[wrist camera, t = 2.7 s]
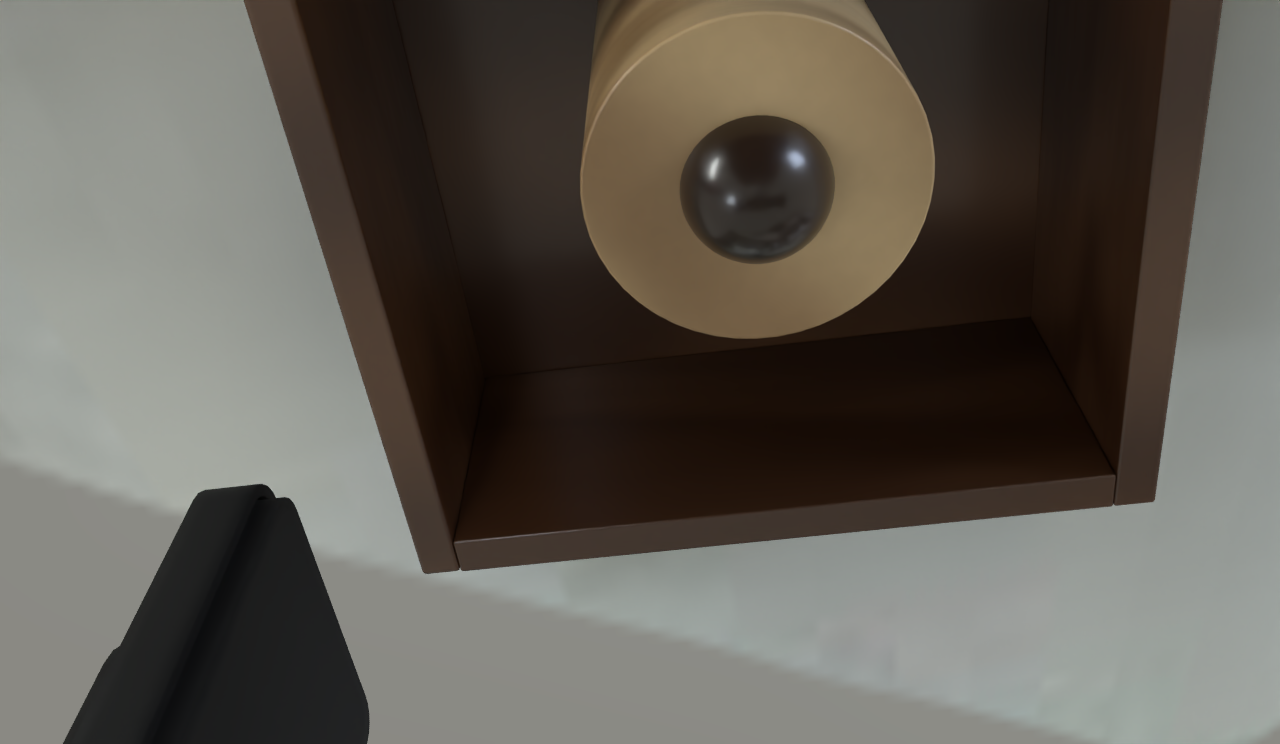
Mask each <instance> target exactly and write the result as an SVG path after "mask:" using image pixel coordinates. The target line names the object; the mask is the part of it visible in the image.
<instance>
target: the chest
mask: <svg viewBox="0 0 1280 744" xmlns="http://www.w3.org/2000/svg"><path fill="white" fill-rule="evenodd" d="M864 1H865V2H866V4H867V6H868V8H869V10H870V11H871V13H872V15H873V17H874V18H875V20H876V22H877V24H878V26H879V27H880V29H881V31H882V33H883V34H884V36H885V38H886V40H887V42H888V43H889V45H890V47H891V49H892V51H893V52H894V54H895V56H896V58H897V59H898V61H899V63H900V65H901V67H902V68H903V70H904V72H905V74H906V75H907V77H908V79H909V81H910V83H911V84H912V86H913V88H914V90H915V91H916V93H917V95H918V97H919V100H920V102H921V104H922V106H923V109H924V111H925V113H926V115H927V119H928V123H929V126H930V130H931V133H932V138H933V146H934V154H935V179H934V185H933V192H932V198H931V202H930V206H929V209H928V212H927V215H926V219H925V222H924V224H923V226H922V228H921V230H920V233H919V235H918V237H917V239H916V241H915V243H914V245H913V246H912V248H911V249H910V251H909V253H908V254H907V256H906V257H905V259H904V260H903V262H902V263H901V264H900V265H899V267H898V268H897V269H896V270H895V272H894V273H893V274H892V275H891V277H890V278H889V279H887V280H886V281H885V282H884V283H883V284H882V285H881V286H880V287H879V288H878V289H877V290H876V291H875V292H874V293H873V294H871V295H870V296H869V297H867V298H866V299H865V300H864V301H862V302H861V303H860V304H858V305H857V306H855V307H854V308H852V309H850V310H849V311H847V312H845V313H844V314H842V315H840V316H838V317H836V318H834V319H832V320H830V321H828V322H825V323H823V324H821V325H819V326H816V327H813V328H810V329H807V330H804V331H801V332H797V333H792V334H787V335H783V336H778V337H768V338H758V339H741V338H728V337H720V336H713V335H709V334H705V333H701V332H697V331H693V330H690V329H688V328H685V327H682V326H679V325H677V324H674V323H672V322H670V321H668V320H666V319H665V318H663V317H661V316H659V315H657V314H655V313H654V312H652V311H651V310H649V309H648V308H646V307H645V306H643V305H642V304H641V303H639V302H638V301H637V300H636V299H635V298H633V297H632V296H631V295H630V294H629V293H628V292H627V291H626V290H624V289H623V288H622V286H621V285H620V284H619V283H618V282H617V281H616V279H615V278H614V277H613V276H612V275H611V274H610V272H609V271H608V269H607V268H606V266H605V265H604V263H603V262H602V260H601V259H600V257H599V255H598V253H597V251H596V249H595V247H594V245H593V243H592V241H591V238H590V236H589V233H588V229H587V226H586V223H585V220H584V216H583V210H582V203H581V197H580V171H581V161H582V151H583V142H584V132H585V122H586V113H587V103H588V93H589V84H590V74H591V64H592V55H593V45H594V36H595V26H596V16H597V7H598V0H244V3H245V6H246V9H247V13H248V16H249V19H250V22H251V25H252V28H253V32H254V35H255V38H256V41H257V44H258V48H259V51H260V54H261V57H262V60H263V64H264V67H265V70H266V73H267V76H268V79H269V83H270V86H271V89H272V92H273V95H274V99H275V102H276V105H277V108H278V111H279V115H280V118H281V121H282V124H283V127H284V131H285V134H286V137H287V140H288V143H289V146H290V150H291V153H292V156H293V159H294V162H295V166H296V169H297V172H298V175H299V178H300V182H301V185H302V188H303V191H304V194H305V198H306V201H307V204H308V207H309V210H310V213H311V217H312V220H313V223H314V226H315V229H316V233H317V236H318V239H319V242H320V245H321V249H322V252H323V255H324V258H325V261H326V264H327V268H328V271H329V274H330V277H331V280H332V284H333V287H334V290H335V293H336V296H337V300H338V303H339V306H340V309H341V312H342V316H343V319H344V322H345V325H346V328H347V331H348V335H349V338H350V341H351V344H352V347H353V351H354V354H355V357H356V360H357V363H358V367H359V370H360V373H361V376H362V379H363V382H364V386H365V389H366V392H367V395H368V398H369V402H370V405H371V408H372V411H373V414H374V418H375V421H376V424H377V427H378V430H379V434H380V437H381V440H382V443H383V446H384V449H385V453H386V456H387V459H388V462H389V465H390V469H391V472H392V475H393V478H394V481H395V485H396V488H397V491H398V494H399V497H400V501H401V504H402V507H403V510H404V513H405V516H406V520H407V523H408V526H409V529H410V532H411V536H412V539H413V542H414V545H415V548H416V552H417V555H418V558H419V561H420V564H421V567H422V570H423V572H424V573H426V574H430V573H440V572H450V571H457V570H459V569H460V568H461V570H462V571H469V570H479V569H489V568H499V567H509V566H519V565H529V564H539V563H549V562H559V561H569V560H579V559H589V558H599V557H609V556H619V555H629V554H639V553H649V552H659V551H669V550H679V549H689V548H699V547H709V546H719V545H729V544H739V543H749V542H759V541H769V540H779V539H789V538H799V537H809V536H819V535H829V534H839V533H849V532H859V531H869V530H879V529H889V528H899V527H909V526H919V525H929V524H939V523H949V522H959V521H969V520H979V519H989V518H999V517H1009V516H1019V515H1029V514H1039V513H1049V512H1059V511H1069V510H1079V509H1089V508H1099V507H1109V506H1112V505H1113V504H1114V505H1116V506H1117V505H1127V504H1137V503H1147V502H1153V501H1154V500H1155V494H1156V487H1157V479H1158V472H1159V465H1160V457H1161V450H1162V443H1163V435H1164V428H1165V421H1166V413H1167V406H1168V399H1169V391H1170V384H1171V377H1172V369H1173V362H1174V355H1175V347H1176V340H1177V333H1178V325H1179V318H1180V311H1181V303H1182V296H1183V289H1184V281H1185V274H1186V267H1187V259H1188V252H1189V245H1190V237H1191V230H1192V223H1193V215H1194V208H1195V201H1196V193H1197V186H1198V179H1199V171H1200V164H1201V157H1202V149H1203V142H1204V135H1205V127H1206V120H1207V113H1208V105H1209V98H1210V91H1211V83H1212V76H1213V69H1214V61H1215V54H1216V47H1217V39H1218V32H1219V25H1220V17H1221V10H1222V3H1223V0H864Z"/></svg>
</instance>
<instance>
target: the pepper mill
mask: <svg viewBox="0 0 1280 744" xmlns="http://www.w3.org/2000/svg"><path fill="white" fill-rule="evenodd" d="M934 179H935V154H934V146H933V138H932V133H931V130H930V126H929V123H928V119H927V115H926V113H925V111H924V109H923V106H922V104H921V102H920V100H919V97H918V95H917V93H916V91H915V90H914V88H913V86H912V84H911V83H910V81H909V79H908V77H907V75H906V74H905V72H904V70H903V68H902V67H901V65H900V63H899V61H898V59H897V58H896V56H895V54H894V52H893V51H892V49H891V47H890V45H889V43H888V42H887V40H886V38H885V36H884V34H883V33H882V31H881V29H880V27H879V26H878V24H877V22H876V20H875V18H874V17H873V15H872V13H871V11H870V10H869V8H868V6H867V4H866V2H865V1H864V0H598V7H597V16H596V26H595V36H594V45H593V55H592V64H591V74H590V84H589V93H588V103H587V113H586V122H585V132H584V142H583V151H582V161H581V171H580V197H581V203H582V210H583V216H584V220H585V223H586V226H587V229H588V233H589V236H590V238H591V241H592V243H593V245H594V247H595V249H596V251H597V253H598V255H599V257H600V259H601V260H602V262H603V263H604V265H605V266H606V268H607V269H608V271H609V272H610V274H611V275H612V276H613V277H614V278H615V279H616V281H617V282H618V283H619V284H620V285H621V286H622V288H623V289H624V290H626V291H627V292H628V293H629V294H630V295H631V296H632V297H633V298H635V299H636V300H637V301H638V302H639V303H641V304H642V305H643V306H645V307H646V308H648V309H649V310H651V311H652V312H654V313H655V314H657V315H659V316H661V317H663V318H665V319H666V320H668V321H670V322H672V323H674V324H677V325H679V326H682V327H685V328H688V329H690V330H693V331H697V332H701V333H705V334H709V335H713V336H720V337H728V338H741V339H758V338H768V337H778V336H783V335H787V334H792V333H797V332H801V331H804V330H807V329H810V328H813V327H816V326H819V325H821V324H823V323H825V322H828V321H830V320H832V319H834V318H836V317H838V316H840V315H842V314H844V313H845V312H847V311H849V310H850V309H852V308H854V307H855V306H857V305H858V304H860V303H861V302H862V301H864V300H865V299H866V298H867V297H869V296H870V295H871V294H873V293H874V292H875V291H876V290H877V289H878V288H879V287H880V286H881V285H882V284H883V283H884V282H885V281H886V280H887V279H889V278H890V277H891V275H892V274H893V273H894V272H895V270H896V269H897V268H898V267H899V265H900V264H901V263H902V262H903V260H904V259H905V257H906V256H907V254H908V253H909V251H910V249H911V248H912V246H913V245H914V243H915V241H916V239H917V237H918V235H919V233H920V230H921V228H922V226H923V224H924V222H925V219H926V215H927V212H928V209H929V206H930V202H931V198H932V192H933V185H934Z"/></svg>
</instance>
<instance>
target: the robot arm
mask: <svg viewBox="0 0 1280 744" xmlns="http://www.w3.org/2000/svg"><path fill="white" fill-rule="evenodd" d="M368 734H369V709H368V703H367V700H366V696H365V693H364V690H363V688H362V685H361V682H360V680H359V677H358V674H357V672H356V669H355V666H354V663H353V661H352V658H351V655H350V653H349V650H348V647H347V645H346V642H345V639H344V637H343V634H342V631H341V629H340V626H339V623H338V620H337V618H336V615H335V612H334V609H333V607H332V604H331V601H330V598H329V596H328V593H327V590H326V588H325V585H324V582H323V580H322V577H321V574H320V572H319V569H318V566H317V563H316V561H315V558H314V555H313V553H312V550H311V547H310V544H309V542H308V539H307V536H306V534H305V531H304V528H303V525H302V523H301V520H300V517H299V515H298V512H297V509H296V507H295V505H294V503H293V502H292V501H291V500H290V499H289V498H286V497H283V498H276V497H275V495H274V493H273V492H272V490H271V489H270V488H269V487H268V486H266V485H263V484H256V485H247V486H238V487H229V488H220V489H211V490H204V491H202V492H200V493H198V494H197V496H196V497H195V499H194V500H193V502H192V504H191V506H190V508H189V510H188V512H187V514H186V516H185V518H184V520H183V522H182V524H181V526H180V528H179V530H178V532H177V534H176V536H175V538H174V540H173V542H172V544H171V546H170V547H169V550H168V552H167V554H166V555H165V558H164V560H163V561H162V563H161V565H160V567H159V569H158V571H157V573H156V575H155V577H154V579H153V582H152V584H151V585H150V587H149V589H148V592H147V593H146V595H145V597H144V599H143V601H142V603H141V605H140V607H139V609H138V611H137V613H136V615H135V617H134V619H133V621H132V623H131V625H130V627H129V629H128V631H127V633H126V635H125V637H124V639H123V641H122V643H121V645H120V646H119V647H118V648H116V649H115V650H113V651H112V653H111V654H110V656H109V657H108V659H107V660H106V662H105V663H104V664H103V666H102V668H101V670H100V672H99V674H98V676H97V678H96V680H95V682H94V684H93V686H92V688H91V690H90V692H89V693H88V696H87V698H86V699H85V701H84V703H83V705H82V707H81V709H80V711H79V713H78V715H77V717H76V719H75V721H74V723H73V725H72V727H71V729H70V731H69V733H68V735H67V737H66V739H65V741H64V743H63V744H367V741H368Z"/></svg>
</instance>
